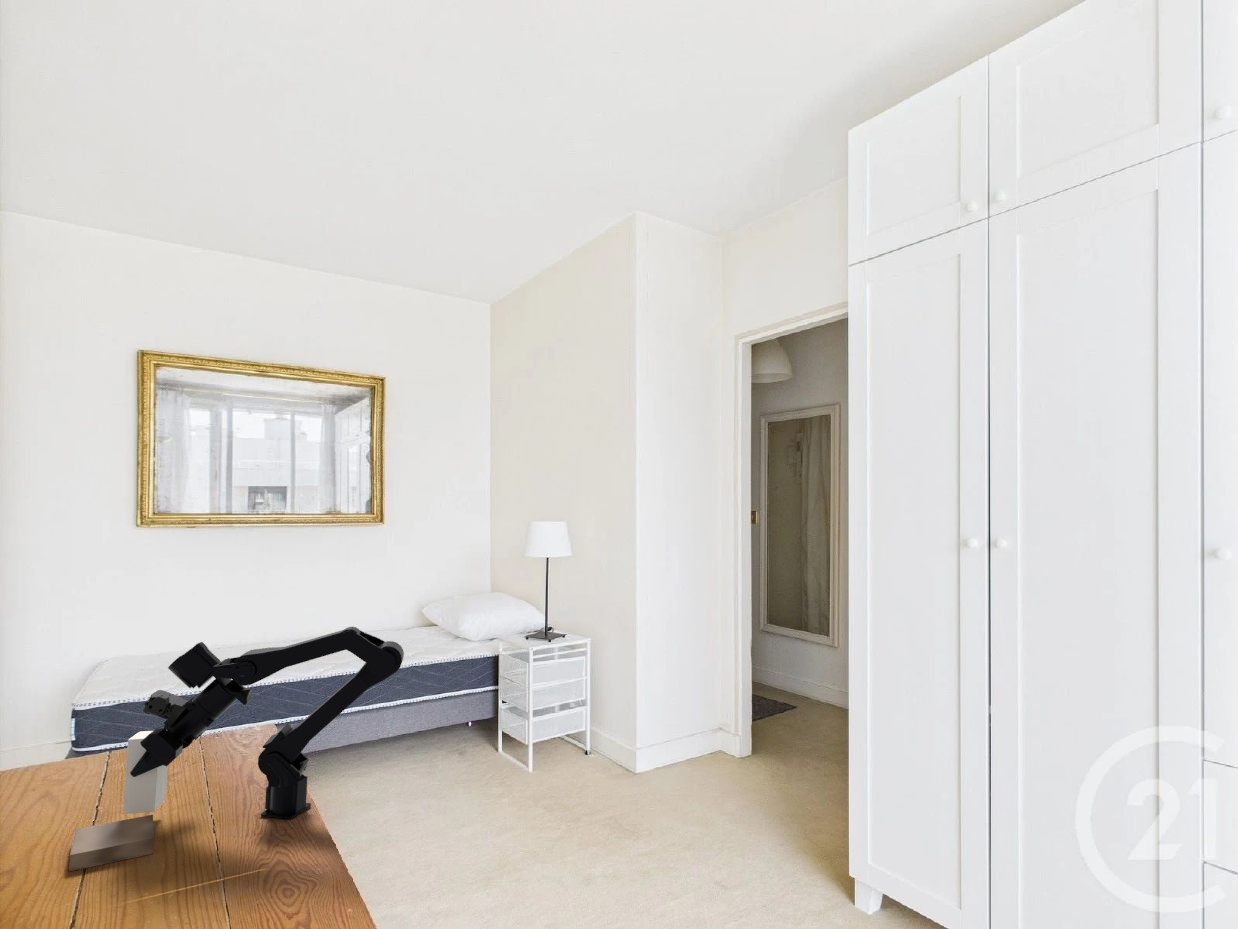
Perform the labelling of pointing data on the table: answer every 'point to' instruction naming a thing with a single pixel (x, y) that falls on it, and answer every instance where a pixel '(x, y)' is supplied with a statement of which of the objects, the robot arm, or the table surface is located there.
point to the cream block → (142, 781)
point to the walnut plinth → (112, 842)
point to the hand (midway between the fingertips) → (138, 770)
